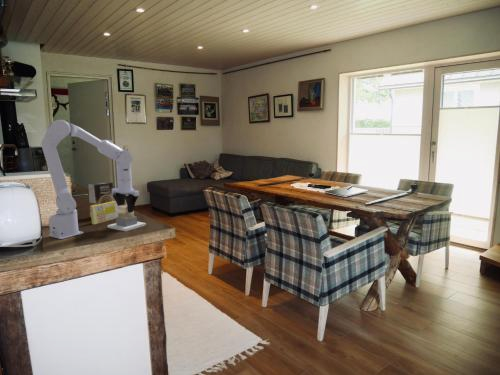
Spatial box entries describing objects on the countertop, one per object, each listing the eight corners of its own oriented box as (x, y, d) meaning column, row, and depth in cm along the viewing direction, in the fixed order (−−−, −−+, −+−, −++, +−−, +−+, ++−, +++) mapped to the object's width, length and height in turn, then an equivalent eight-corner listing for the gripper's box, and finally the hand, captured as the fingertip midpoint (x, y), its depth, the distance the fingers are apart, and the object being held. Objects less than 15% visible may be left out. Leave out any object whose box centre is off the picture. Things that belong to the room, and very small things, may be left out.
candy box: (121, 216, 169) (120, 199, 168) (124, 217, 168) (123, 199, 167) (91, 224, 156) (89, 205, 154) (94, 224, 154) (92, 206, 153)
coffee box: (97, 219, 163) (95, 184, 160) (89, 217, 167) (87, 183, 164) (115, 215, 170) (113, 182, 168) (107, 213, 174) (105, 181, 171)
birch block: (125, 219, 147) (124, 207, 147) (118, 217, 150) (117, 206, 149) (134, 217, 151) (133, 205, 150) (126, 215, 153) (126, 204, 153)
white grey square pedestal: (125, 231, 144) (124, 221, 143) (107, 227, 149) (107, 218, 149) (146, 225, 153) (145, 216, 152) (128, 221, 159) (128, 213, 158)
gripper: (144, 179, 148) (145, 211, 150) (120, 177, 155) (122, 207, 157) (130, 181, 142) (132, 214, 144) (106, 179, 149) (108, 210, 151)
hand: (126, 211), depth 150 cm, fingers open, 5 cm apart
